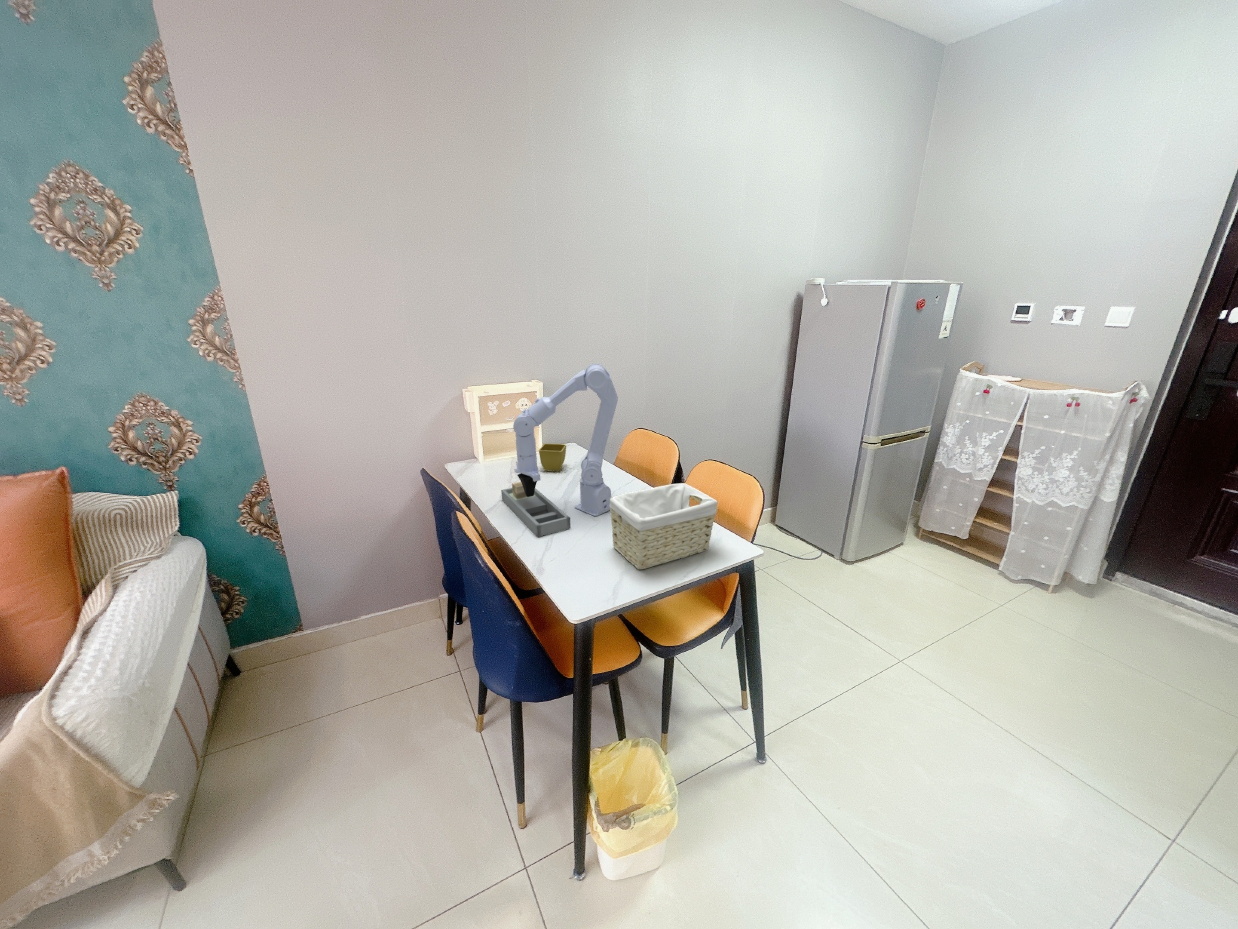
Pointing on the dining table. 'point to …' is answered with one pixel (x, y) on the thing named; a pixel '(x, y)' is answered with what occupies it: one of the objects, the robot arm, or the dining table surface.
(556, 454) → the flower pot
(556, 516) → the box
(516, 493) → the maple block
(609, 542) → the dining table surface
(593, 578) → the dining table surface
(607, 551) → the dining table surface
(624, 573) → the dining table surface
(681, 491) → the storage basket
